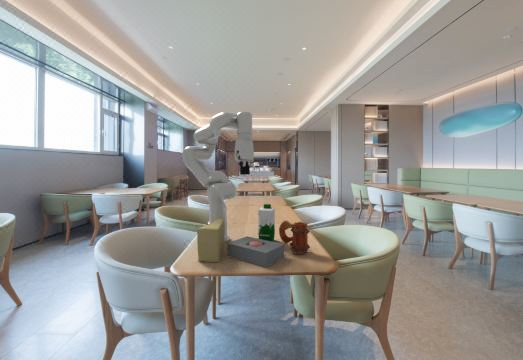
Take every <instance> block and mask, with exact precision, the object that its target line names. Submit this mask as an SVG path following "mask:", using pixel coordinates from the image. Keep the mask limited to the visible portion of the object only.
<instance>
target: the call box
mask: <svg viewBox="0 0 523 360" xmlns="http://www.w3.org/2000/svg"><path fill="white" fill-rule="evenodd" d="M252 241H260V242H262V245H261V246H258V247H254V246H250V245H249V242H252ZM226 243H227V246H226V249H227V254H226V256H227V257H230V258H234V259H236V260H239V261H244V262H246V263H250V264H254V265H257V266H260V267H263V268H267V267H270V266H271V265H273V264H275V263H277V262H278V261H280V260H282V259H284V258H285V243H279V242H275V241H273V242H271V241H266V240H262V239H259V238H256V237H252V236H248V235H247V236H243V237H242V238H239V239H235V240H232V241H230V242H229V241H228V242H226Z"/></svg>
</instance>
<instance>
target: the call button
mask: <svg viewBox="0 0 523 360" xmlns="http://www.w3.org/2000/svg"><path fill="white" fill-rule="evenodd" d="M249 245H250V246H254V247H258V246H261V245H262V242H260V241H252V242H249Z"/></svg>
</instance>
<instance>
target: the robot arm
mask: <svg viewBox="0 0 523 360" xmlns="http://www.w3.org/2000/svg"><path fill="white" fill-rule="evenodd" d="M223 128H226V129H232V130H236V140H235V144H234V160H235V162H236V163H237V164H238V166H239V172H240V173H239V174H240V175H241V176H242V175H245V176H246V175H250V174H251V172H250V171H251V170H250V169H251V165H252V163H253V162H254V161H255V160H254V157H255V155H254V154H255V151H254V141H253V114H252V113H251V112H249V111H238V113H237V114H236V113H232V112H226V111H224V112H223V111H222V112H220V113H218V114H215V115H214V116H212V117H211V118H210V121H209V123H208V124H207V125H205V126H202V127H201V128H199V129H197V130H196V131H195V132H194V133H193V139H194V141H195V142H196V143H197V144H201V145H203V146H198V145H197V146H196V145H192V146H191V145H190V146H186V147H185V148H184V149H183V150H182V153H181V156H182V160H183V164H184V165H185V167H187V169H188V170H189V171H190V172H191V173H192V174H193V176H194V177H195V178H196V179H197V181H198V182H199V183H200V184H201V185H202V186H203V187H204V188H207V189H206V195H207V199H208V209H209V210H208V212H209V213H208V215H209V217H208V218H209V219H208V220H209V224H210V223H212V222H214V221H215V220H217V219H219V218H222V219H224V243H228V242H229V241H230V239H231V237H230V236H229V235H228V218H227V217H228V213H227V211H228V210H227V209H228V208H227V206H226V205H227V204H226V203H225V200H230V199H233V198H235V197H236V196H237V187H236V185H235V184H234V182H233V181H232V180H231V179H230V178H229V176H227V174H226V173H224V172H223V171H221V170H210V168H208V166H206V164H205V163H203V162H205V161H209V160H210V159H211V158H212V156H213V153H214V151H215V149H216V147H217V144H218V143H219V137H220V136H221V135H222V130H221V129H223Z"/></svg>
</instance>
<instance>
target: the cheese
mask: <svg viewBox="0 0 523 360" xmlns="http://www.w3.org/2000/svg"><path fill="white" fill-rule="evenodd" d="M196 231H197V232H196V234H197V236H196V237H197V238H196V239H197V240H196V242H197V245H196V246H197V258H198V261H199V262H203V261H205V262H207V263H218V262H220V258H221V254H222V252H223V250H224V248H225V242H224V219H222V218H219V219H217V220H215V221H214V222H212V223H210V222H209V224H207V225H204V226H201V227H198V228H197V229H196ZM205 262H204V263H205Z"/></svg>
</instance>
